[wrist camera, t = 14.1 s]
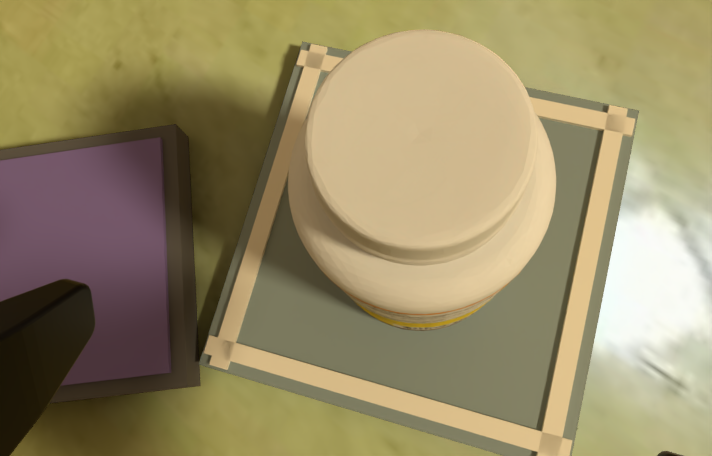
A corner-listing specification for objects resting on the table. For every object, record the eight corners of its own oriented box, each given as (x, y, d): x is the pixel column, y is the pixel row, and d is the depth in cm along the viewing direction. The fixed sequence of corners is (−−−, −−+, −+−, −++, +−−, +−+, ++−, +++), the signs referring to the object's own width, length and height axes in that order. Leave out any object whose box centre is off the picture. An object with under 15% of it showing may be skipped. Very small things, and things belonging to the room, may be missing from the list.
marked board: (563, 471, 19) (569, 475, 18) (204, 364, 20) (196, 364, 20) (632, 117, 21) (640, 108, 20) (305, 49, 23) (301, 39, 22)
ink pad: (200, 385, 20) (184, 387, 19) (-53, 415, 21) (-85, 418, 19) (188, 136, 22) (173, 121, 21) (-41, 170, 23) (-70, 157, 22)
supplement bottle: (406, 137, 21) (397, -71, 11) (538, 236, 20) (663, 103, 10) (301, 260, 20) (190, 158, 10) (431, 369, 19) (447, 374, 9)
